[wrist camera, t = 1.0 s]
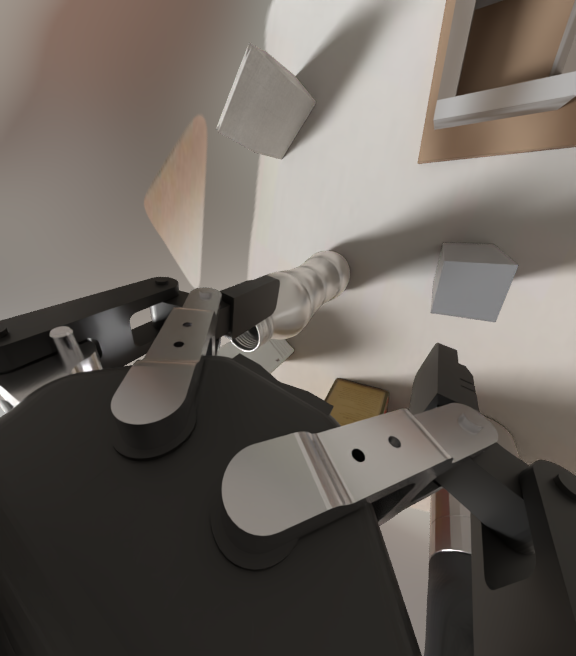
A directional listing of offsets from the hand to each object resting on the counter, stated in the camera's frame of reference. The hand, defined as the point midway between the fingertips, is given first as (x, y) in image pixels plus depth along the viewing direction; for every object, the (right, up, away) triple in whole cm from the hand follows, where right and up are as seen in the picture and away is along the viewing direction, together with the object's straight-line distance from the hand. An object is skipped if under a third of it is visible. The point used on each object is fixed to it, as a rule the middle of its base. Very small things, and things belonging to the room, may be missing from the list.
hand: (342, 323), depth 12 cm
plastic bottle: (+4, +8, +22) cm, 24 cm away
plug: (+16, +7, +14) cm, 23 cm away
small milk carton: (-3, +25, +17) cm, 30 cm away
